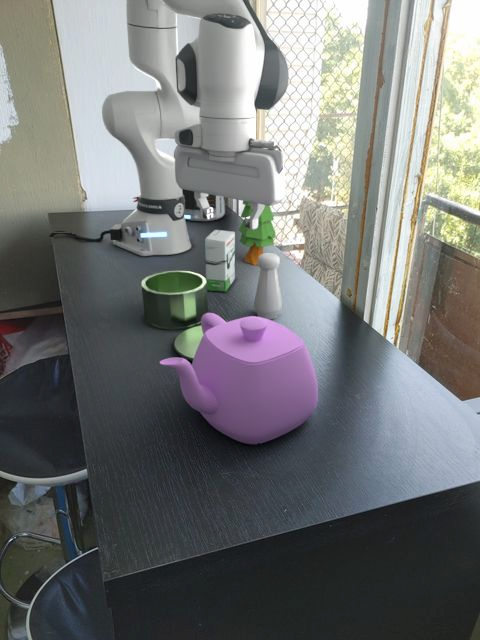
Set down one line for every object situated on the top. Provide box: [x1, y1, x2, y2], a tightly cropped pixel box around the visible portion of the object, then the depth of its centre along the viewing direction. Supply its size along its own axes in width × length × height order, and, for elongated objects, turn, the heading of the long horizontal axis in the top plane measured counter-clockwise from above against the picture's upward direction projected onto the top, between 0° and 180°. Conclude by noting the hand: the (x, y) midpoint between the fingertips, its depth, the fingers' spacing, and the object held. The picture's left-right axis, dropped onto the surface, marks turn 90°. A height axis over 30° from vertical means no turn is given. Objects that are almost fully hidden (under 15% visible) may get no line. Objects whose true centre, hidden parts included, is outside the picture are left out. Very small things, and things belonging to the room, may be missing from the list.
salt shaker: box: [253, 252, 283, 320], centre depth 104 cm, size 6×6×13 cm
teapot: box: [159, 312, 319, 445], centre depth 74 cm, size 23×21×15 cm
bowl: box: [141, 270, 209, 331], centre depth 105 cm, size 13×13×8 cm
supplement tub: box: [173, 144, 226, 222], centre depth 168 cm, size 16×16×26 cm
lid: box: [174, 325, 203, 362], centre depth 94 cm, size 14×14×5 cm
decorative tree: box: [238, 201, 277, 266], centre depth 129 cm, size 10×9×30 cm
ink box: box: [204, 229, 236, 293], centre depth 119 cm, size 9×5×12 cm, turn 168°
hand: (228, 223), depth 89 cm, fingers open, 8 cm apart
